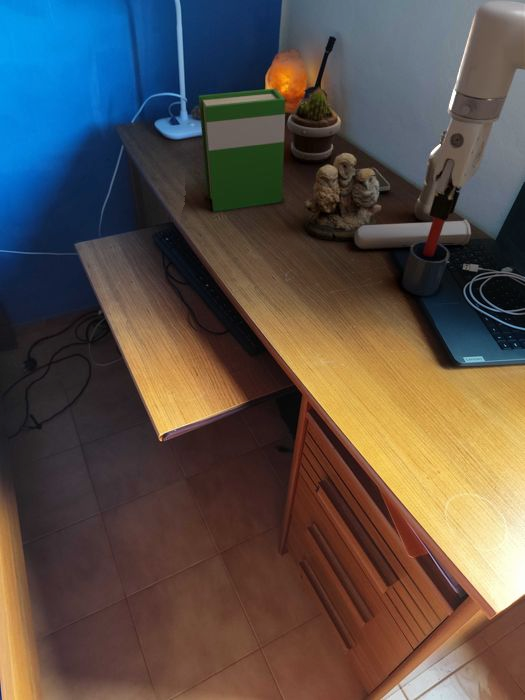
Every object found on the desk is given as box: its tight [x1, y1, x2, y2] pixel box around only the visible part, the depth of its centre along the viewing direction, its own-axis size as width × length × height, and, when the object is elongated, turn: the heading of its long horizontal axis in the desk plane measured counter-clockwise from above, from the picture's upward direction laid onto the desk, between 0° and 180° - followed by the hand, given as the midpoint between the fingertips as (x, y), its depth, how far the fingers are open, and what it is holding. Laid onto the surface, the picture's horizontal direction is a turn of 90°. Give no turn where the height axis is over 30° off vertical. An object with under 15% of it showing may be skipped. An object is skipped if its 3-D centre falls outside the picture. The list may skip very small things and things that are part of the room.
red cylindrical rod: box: [423, 185, 452, 257], centre depth 84 cm, size 2×2×14 cm
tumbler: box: [401, 241, 450, 297], centre depth 92 cm, size 7×7×8 cm
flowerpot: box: [286, 85, 342, 164], centre depth 129 cm, size 14×15×20 cm
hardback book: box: [198, 88, 287, 212], centre depth 110 cm, size 18×7×24 cm, turn 106°
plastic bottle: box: [413, 130, 447, 223], centre depth 105 cm, size 6×7×20 cm
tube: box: [353, 219, 472, 250], centre depth 103 cm, size 5×5×25 cm
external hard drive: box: [355, 167, 391, 194], centre depth 123 cm, size 7×11×2 cm, turn 13°
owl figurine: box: [303, 152, 382, 242], centre depth 103 cm, size 18×12×17 cm, turn 101°
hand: (441, 213), depth 83 cm, fingers closed on red cylindrical rod, 2 cm apart
